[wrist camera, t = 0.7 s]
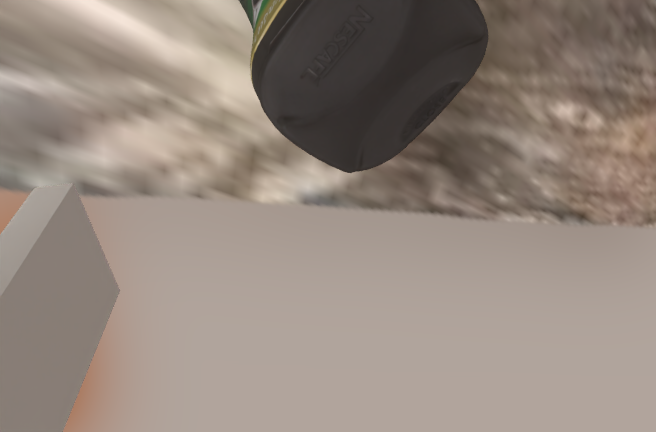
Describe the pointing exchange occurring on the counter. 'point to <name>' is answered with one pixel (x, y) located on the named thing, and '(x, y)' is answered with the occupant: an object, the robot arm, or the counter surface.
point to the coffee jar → (361, 71)
